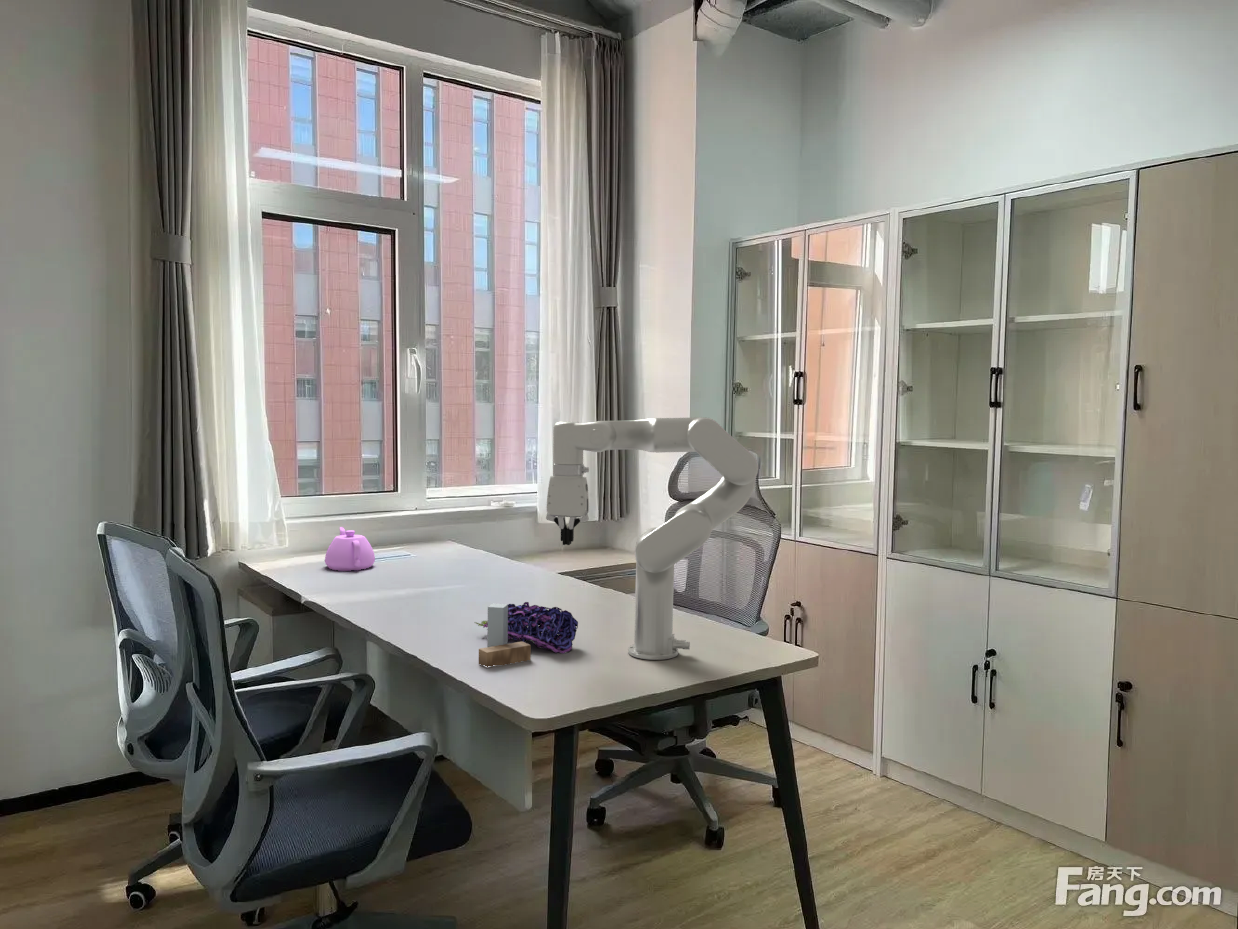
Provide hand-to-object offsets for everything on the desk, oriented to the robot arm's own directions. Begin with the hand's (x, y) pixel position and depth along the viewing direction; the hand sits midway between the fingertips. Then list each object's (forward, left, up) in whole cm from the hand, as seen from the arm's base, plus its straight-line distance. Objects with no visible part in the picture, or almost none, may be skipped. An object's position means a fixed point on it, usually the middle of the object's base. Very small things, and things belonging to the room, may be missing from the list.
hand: (567, 544), depth 230 cm
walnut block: (+8, +9, -25) cm, 28 cm away
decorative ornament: (+12, -5, -28) cm, 31 cm away
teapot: (+102, -93, -27) cm, 141 cm away
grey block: (+16, +6, -27) cm, 32 cm away
